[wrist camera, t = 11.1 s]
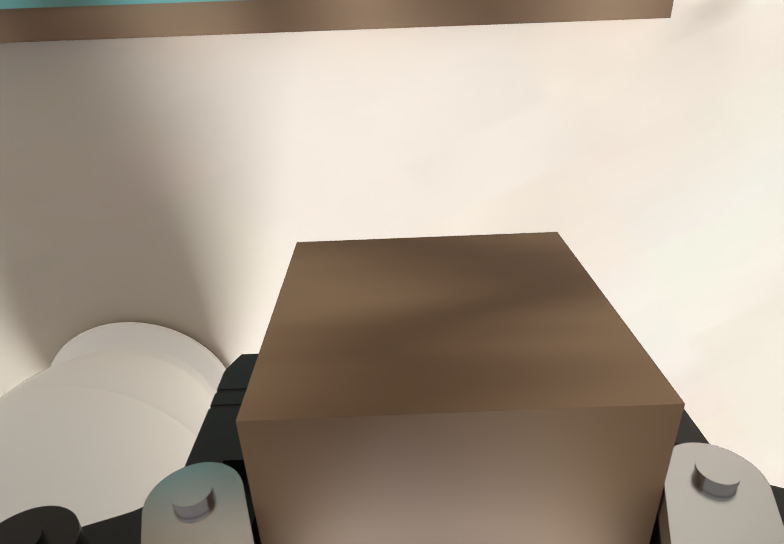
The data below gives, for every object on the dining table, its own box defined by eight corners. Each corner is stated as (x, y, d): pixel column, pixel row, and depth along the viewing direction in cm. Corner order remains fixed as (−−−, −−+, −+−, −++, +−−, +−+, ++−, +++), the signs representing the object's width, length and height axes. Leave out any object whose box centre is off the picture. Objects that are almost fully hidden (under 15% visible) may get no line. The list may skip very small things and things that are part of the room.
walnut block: (557, 231, 11) (685, 404, 6) (536, 431, 13) (619, 663, 8) (296, 242, 11) (235, 421, 6) (320, 439, 13) (289, 676, 8)
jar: (243, 292, 24) (86, 668, 11) (273, 467, 29) (189, 881, 15) (-4, 302, 24) (-482, 698, 10) (66, 477, 28) (-202, 905, 15)
